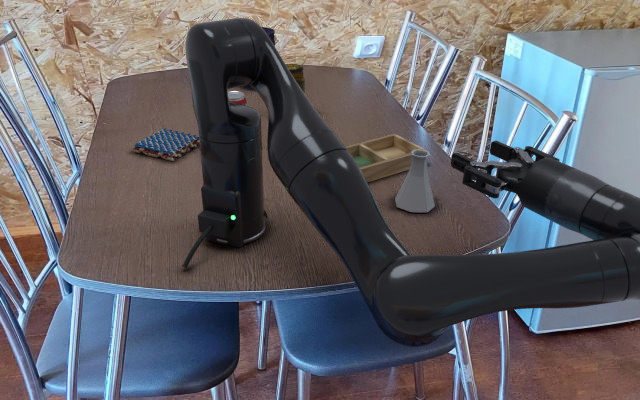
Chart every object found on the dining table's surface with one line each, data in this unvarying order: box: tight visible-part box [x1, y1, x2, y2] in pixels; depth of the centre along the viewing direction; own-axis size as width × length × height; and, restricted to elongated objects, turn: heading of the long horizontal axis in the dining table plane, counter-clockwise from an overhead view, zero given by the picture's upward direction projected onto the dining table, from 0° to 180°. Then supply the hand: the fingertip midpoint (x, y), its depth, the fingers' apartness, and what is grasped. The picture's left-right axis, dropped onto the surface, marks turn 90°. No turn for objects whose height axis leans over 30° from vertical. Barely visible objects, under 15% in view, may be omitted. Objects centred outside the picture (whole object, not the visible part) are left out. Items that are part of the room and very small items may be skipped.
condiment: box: [285, 63, 306, 95], centre depth 136 cm, size 7×8×12 cm
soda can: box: [227, 90, 248, 106], centre depth 117 cm, size 5×5×12 cm
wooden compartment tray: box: [344, 133, 428, 184], centre depth 113 cm, size 10×19×3 cm, turn 124°
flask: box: [394, 149, 436, 213], centre depth 98 cm, size 7×7×10 cm
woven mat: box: [132, 128, 200, 162], centre depth 119 cm, size 10×11×2 cm
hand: (472, 152), depth 86 cm, fingers open, 8 cm apart
